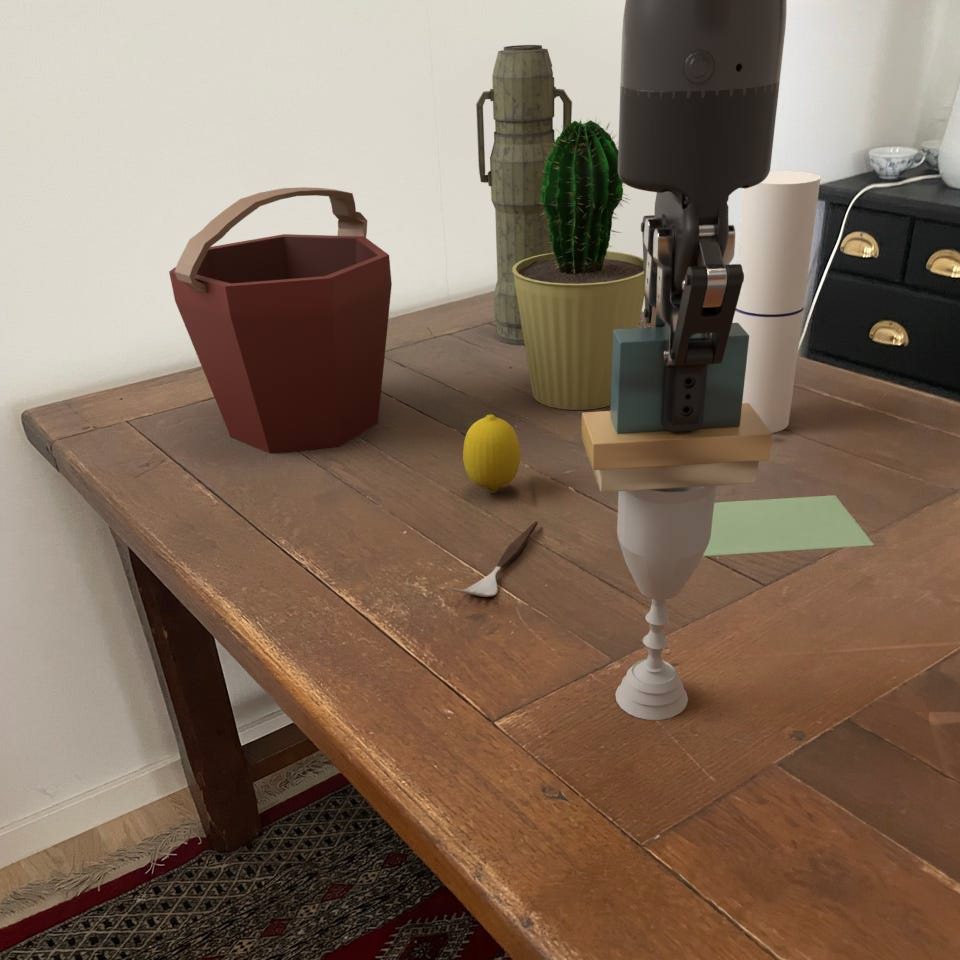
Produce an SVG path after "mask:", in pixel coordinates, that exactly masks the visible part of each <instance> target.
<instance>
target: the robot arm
mask: <svg viewBox="0 0 960 960" xmlns="http://www.w3.org/2000/svg"><path fill="white" fill-rule="evenodd" d="M787 2H788V1H787V0H625V2H624V3H625V4H624V10H623V17H622V30H621V56H620V84H619V86H620V87H619V116H618V117H619V120H618V145H617V147H618V148H617V149H618V175H619V178H620V179H621V181H622V182H623V183H625V184H624V185H625V186H628V187H630V188H633V189H636V190H640V191H644V192H651V193H656V194H655V201H654V214H653V215H643V217H642V222H641V223H640V232H641V233H642V234H641V235H642V259H643V264H644V292H645V296H644V309H643V318H645V323H646V324H647V325H650V327H665V339H664V351H663V360H664V363H665V365H664V382H663V398H662V414H661V423H662V425H663V427H664V428H665V430H666V431H668V432H681V431H695V430H698V429H699V428H700V427H701V426H702V424H703V414H704V402H705V391H706V379H707V367H708V365H711V364H720V363H721V362H722V360H723V356H724V352H725V348H726V344H727V341H728V337H729V333H730V329H731V325H732V321H733V318H734V314H735V310H736V306H737V302H738V299H739V295H740V291H741V287H742V283H743V281H744V273H743V269H742V266H741V264H737V263H732V264H730V263H731V262H732V261H733V259H734V258H735V248H736V227H735V226H734V224H729V204H728V202H729V198H730V196H731V195H732V194H733V193H734V192H736V191H737V190H738V189H744V188H749V187H752V186H755V185H757V184H759V183H761V182H762V181H764V180H765V179H766V177H767V176H768V174H769V172H770V171H771V165H772V155H773V147H774V140H775V139H774V137H775V127H776V121H777V111H778V102H779V100H778V99H779V92H780V83H781V82H780V81H781V74H782V73H781V72H782V66H783V65H782V64H783V54H784V46H785V37H786V36H785V35H786V26H787V25H786V24H787V4H788V3H787ZM694 334H701V340H699V341H689V339H690V337H691V336H692V335H694Z"/></svg>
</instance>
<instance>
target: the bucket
mask: <svg viewBox="0 0 960 960" xmlns="http://www.w3.org/2000/svg"><path fill="white" fill-rule="evenodd" d="M311 196H314V197H315V196H319V197H320V196H321V197H328V198H329V202H330V205H331V212H332V214H333V215H334V216H335V217H336V219H337V235H328V234H325V235H323V234H293V233H291V234H290V233H282V234H276V235H272V236H265V237H260V238H255V239H247V240H243V241H242V240H241V241H236V242H232V243H225V244H224V243H223V244H219V245H215V244H216V243H218V242H219V241H220V240H221V239H223V238H224V237H225V236H226V235H227V234H228V233H229V232H230V230H231V229H233V228H234V227H235V226H237V224H239V223H240V222H242V221H243V220H244V219H245V218H246V217H248V216H249V215H251V214H252V213H253V212H255V211H256V210H257V209H259V208H260V207H262V206H266V205H268V204H270V203H271V204H272V203H274V202H277V201H281V200H285V199H290V198H295V197H311ZM367 234H368V219H367V218H366V217H365V216H364V215H363V214H362V213H361V212H360V211H357V208H356V201H355V198H354V194H353V192H348V191H344V190H339V189H335V188H324V187H305V186H303V187H301V186H300V187H283V188H282V187H281V188H278V189H277V188H276V189H272V190H266V191H261V192H257V193H254V194H251V195H247V196H245V197H241V198H240V199H238V200H236V201H235V202H234V203H232V204H231V205H230V206H228V207H226V208H225V209H224V210H223V211H222V212H220V213H219V214H218V215H217V216H215V217H214V218H212V219H211V220H210V221H209V222H208V223H207V224H206V225H205V226H204V227H203V228H202V229H201V230H200V231H199V232H197V233H196V234H195V235H193V236H192V237H190V238H189V240H188V242H187V243H186V245H185V247H184V250H183V251H182V252H181V254H180V257H179V259H178V261H177V263H176V266H175V267H173V268H172V269H171V270H169V271H168V275H169V279H170V282H171V288H172V293H173V297H174V302H175V304H176V307H177V309H178V312H179V314H180V317H181V320H182V321H183V324H184V327H185V329H186V331H187V334H188V337H189V338H190V341H191V344H192V345H193V348H194V351H195V354H196V356H197V359H198V361H199V363H200V365H201V367H202V371H203V373H204V375H205V378H206V380H207V383H208V386H209V388H210V390H211V392H212V395H213V397H214V400H215V402H216V405H217V407H218V410H219V412H220V415H221V417H222V419H223V422H224V424H225V426H226V429H227V431H228V434H229V437H231V438H233V439H235V440H238V441H240V442H242V443H245V444H247V445H250V446H252V447H254V448H256V449H257V448H258V450H262V451H264V452H266V453H269V454H272V453H273V454H274V453H284V452H295V451H307V450H317V449H318V450H319V449H327V448H329V449H330V448H338V447H341V446H342V445H343V444H345V443H348V442H349V441H351V440H352V439H354V438H356V437H358V436H359V435H361V434H363V433H364V432H366V431H368V430H369V429H371V428H373V427H374V426H377V425H378V424H379V419H380V418H379V417H380V410H381V409H380V408H381V399H382V389H383V388H382V387H383V378H384V367H385V356H386V347H387V336H388V327H389V317H390V316H389V315H390V307H391V295H392V285H393V284H392V271H391V261H390V255H389V253H388V252H386V251H385V250H384V249H382V248H380V247H379V246H378V245H377V244H375V243H374V242H372V241H371V240H370V239H368V238H367Z"/></svg>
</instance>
